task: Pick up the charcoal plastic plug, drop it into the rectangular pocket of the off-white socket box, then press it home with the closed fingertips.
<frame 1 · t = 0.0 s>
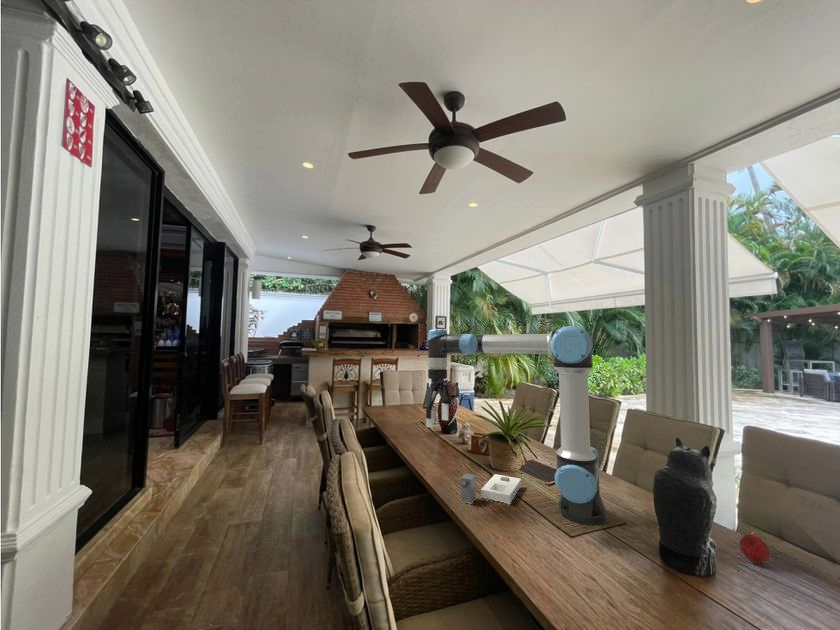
hand: (437, 423, 135), 28 cm above the table, fingers open, 13 cm apart
red oval piece: (755, 564, 93), on the table
socket: (501, 493, 137), on the table
plug: (468, 501, 130), on the table
hardcover book: (539, 475, 158), on the table
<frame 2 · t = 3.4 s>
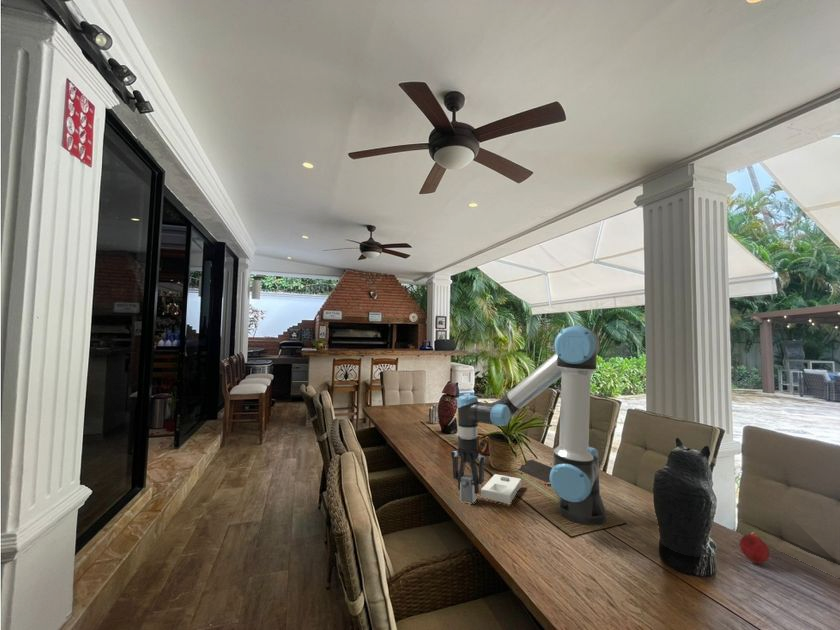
hand: (468, 500, 130), 0 cm above the table, fingers closed on plug, 4 cm apart
plug: (468, 501, 130), on the table, touching gripper
everything else where it was.
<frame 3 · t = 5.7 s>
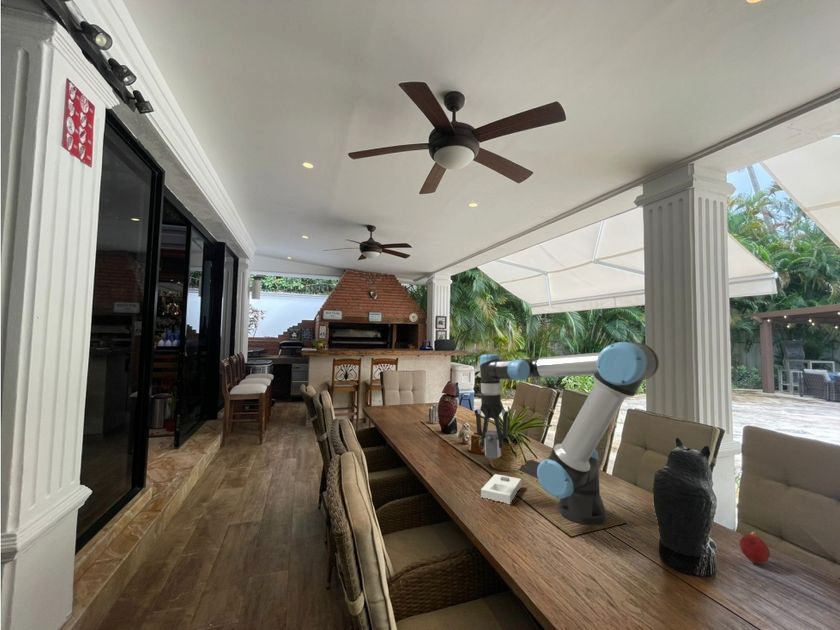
hand: (493, 455, 133), 16 cm above the table, fingers closed on plug, 4 cm apart
plug: (492, 456, 133), point 16 cm above the table, touching gripper
everything else where it was.
when the fingers open (5 cm above the table, at t = 8.3 s): plug drops 4 cm, resting on socket.
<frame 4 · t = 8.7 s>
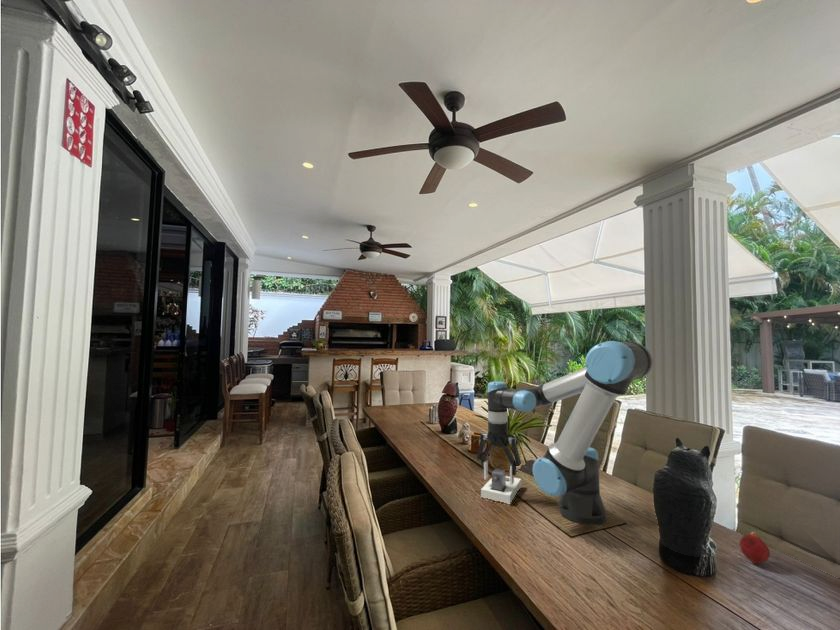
hand: (498, 480, 134), 6 cm above the table, fingers open, 9 cm apart
plug: (498, 495, 133), point 1 cm above the table, touching socket
everything else where it was.
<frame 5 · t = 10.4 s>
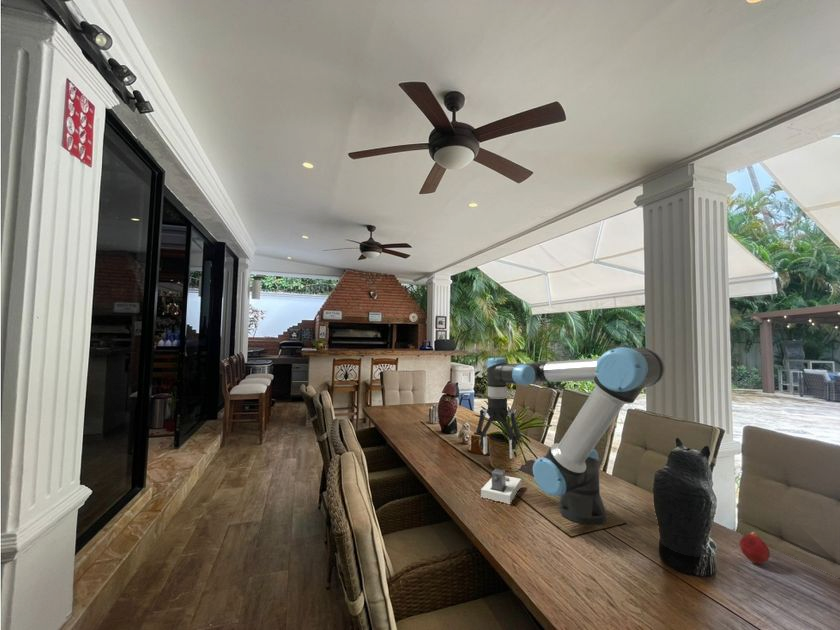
hand: (498, 455, 135), 16 cm above the table, fingers open, 10 cm apart
nothing on the table moved.
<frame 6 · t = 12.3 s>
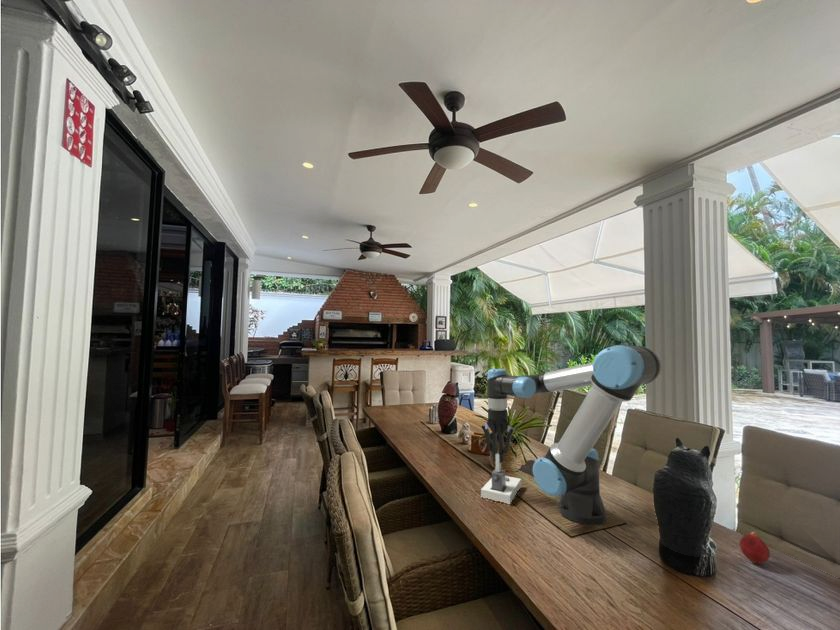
hand: (498, 470, 134), 10 cm above the table, fingers closed
nothing on the table moved.
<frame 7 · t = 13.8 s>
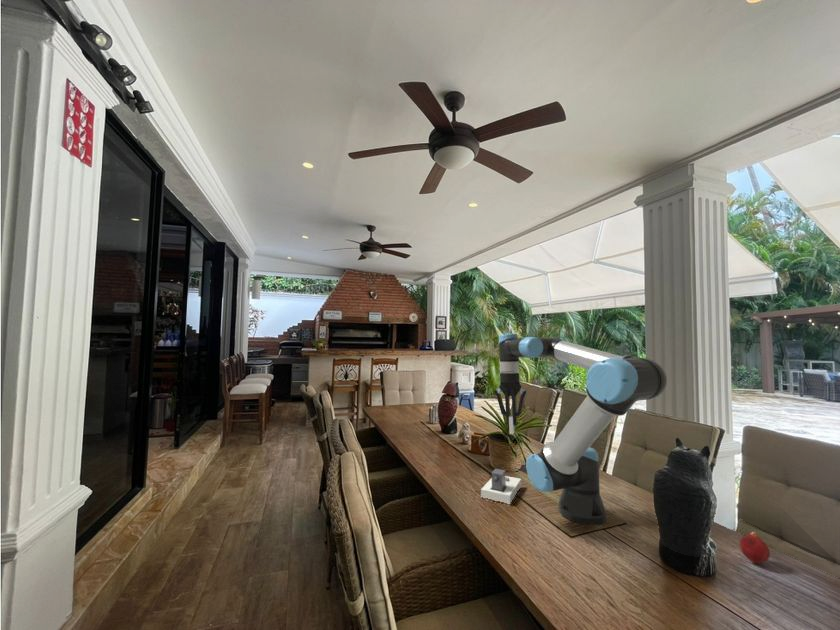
hand: (512, 433, 135), 24 cm above the table, fingers closed
nothing on the table moved.
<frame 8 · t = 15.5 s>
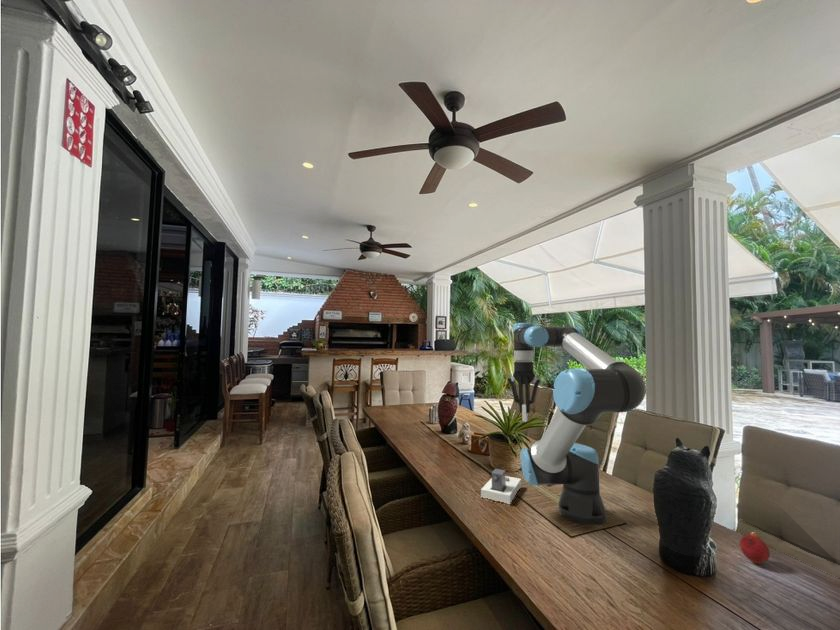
hand: (525, 420, 137), 28 cm above the table, fingers closed
nothing on the table moved.
at the end: plug 0.0 cm from the target spot on the socket, point 0.5 cm above the socket's base; plug tilted 0°; the gripper is holding nothing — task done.
